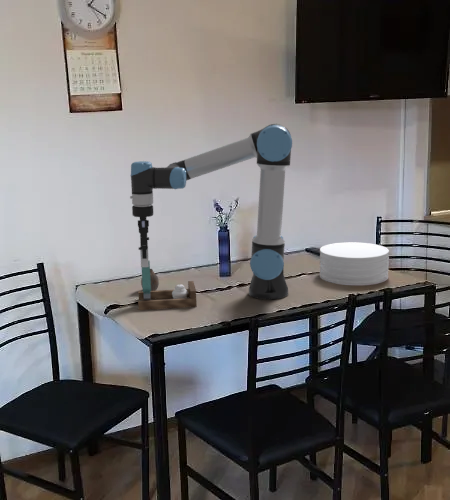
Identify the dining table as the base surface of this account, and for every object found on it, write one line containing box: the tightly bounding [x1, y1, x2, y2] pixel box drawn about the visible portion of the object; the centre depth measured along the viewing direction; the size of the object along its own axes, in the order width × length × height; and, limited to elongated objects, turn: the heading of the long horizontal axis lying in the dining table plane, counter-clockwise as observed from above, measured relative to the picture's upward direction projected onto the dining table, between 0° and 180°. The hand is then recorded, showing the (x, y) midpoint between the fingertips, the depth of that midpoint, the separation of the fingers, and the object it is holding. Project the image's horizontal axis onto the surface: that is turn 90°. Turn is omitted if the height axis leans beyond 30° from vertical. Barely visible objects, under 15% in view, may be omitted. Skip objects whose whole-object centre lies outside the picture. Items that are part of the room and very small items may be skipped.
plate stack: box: [319, 241, 390, 286], centre depth 287 cm, size 28×28×12 cm
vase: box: [140, 268, 160, 291], centre depth 273 cm, size 7×7×9 cm
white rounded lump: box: [172, 284, 188, 299], centre depth 257 cm, size 6×6×7 cm
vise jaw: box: [141, 259, 151, 301], centre depth 255 cm, size 3×10×16 cm, turn 7°
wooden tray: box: [137, 280, 198, 311], centre depth 257 cm, size 21×14×6 cm, turn 97°
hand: (144, 262), depth 253 cm, fingers open, 13 cm apart
